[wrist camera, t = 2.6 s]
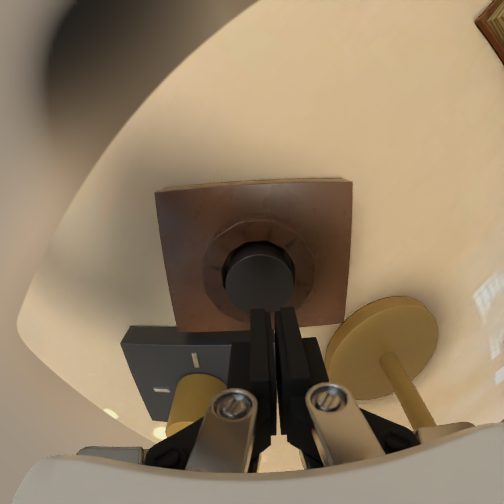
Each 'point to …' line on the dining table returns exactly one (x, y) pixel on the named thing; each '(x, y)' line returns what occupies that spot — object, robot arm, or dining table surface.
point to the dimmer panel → (175, 360)
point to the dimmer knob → (192, 400)
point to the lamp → (385, 353)
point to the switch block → (255, 232)
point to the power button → (259, 279)
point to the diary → (494, 25)
